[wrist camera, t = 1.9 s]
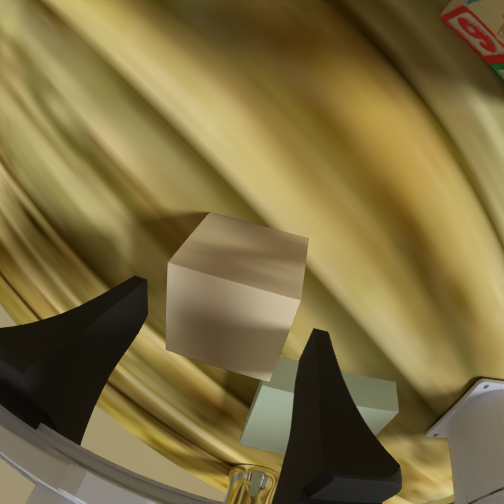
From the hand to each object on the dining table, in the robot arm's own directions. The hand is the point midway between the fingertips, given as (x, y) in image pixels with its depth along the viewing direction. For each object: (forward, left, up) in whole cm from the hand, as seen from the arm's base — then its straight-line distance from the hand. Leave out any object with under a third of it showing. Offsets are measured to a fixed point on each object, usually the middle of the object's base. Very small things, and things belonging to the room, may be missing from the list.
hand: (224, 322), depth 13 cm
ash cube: (0, 0, -5) cm, 5 cm away
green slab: (-7, +11, -5) cm, 14 cm away
